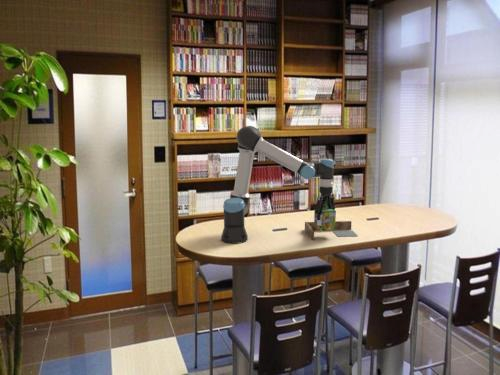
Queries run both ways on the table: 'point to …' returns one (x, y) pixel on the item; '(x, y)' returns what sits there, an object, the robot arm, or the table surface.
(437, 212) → the table surface
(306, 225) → the wooden corner wall
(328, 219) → the chalk box
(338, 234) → the pad
